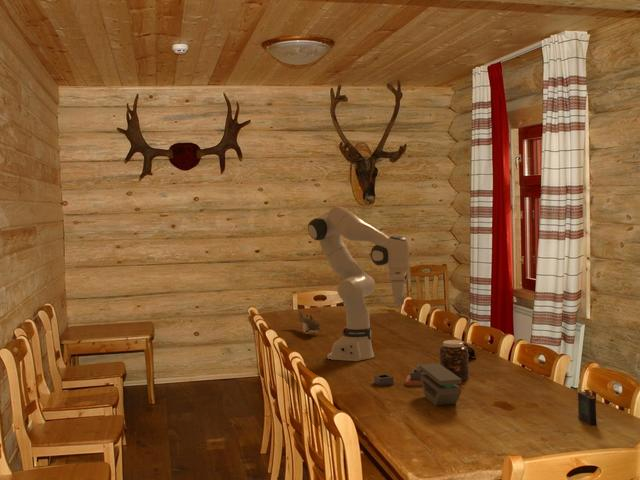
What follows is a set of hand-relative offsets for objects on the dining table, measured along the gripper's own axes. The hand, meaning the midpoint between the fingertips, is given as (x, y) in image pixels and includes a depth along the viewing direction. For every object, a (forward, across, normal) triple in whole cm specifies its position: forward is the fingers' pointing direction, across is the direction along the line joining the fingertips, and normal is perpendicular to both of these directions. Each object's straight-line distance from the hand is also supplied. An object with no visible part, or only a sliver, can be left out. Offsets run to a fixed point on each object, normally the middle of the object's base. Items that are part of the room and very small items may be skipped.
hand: (400, 306), depth 304 cm
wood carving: (+29, -89, -63) cm, 113 cm away
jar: (+29, +6, +22) cm, 37 cm away
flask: (+30, +59, +67) cm, 94 cm away
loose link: (+29, +17, -6) cm, 34 cm away
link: (+28, +14, +8) cm, 32 cm away
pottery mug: (+30, -29, +26) cm, 49 cm away
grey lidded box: (+29, +39, +18) cm, 52 cm away
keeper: (+29, +14, +8) cm, 33 cm away
